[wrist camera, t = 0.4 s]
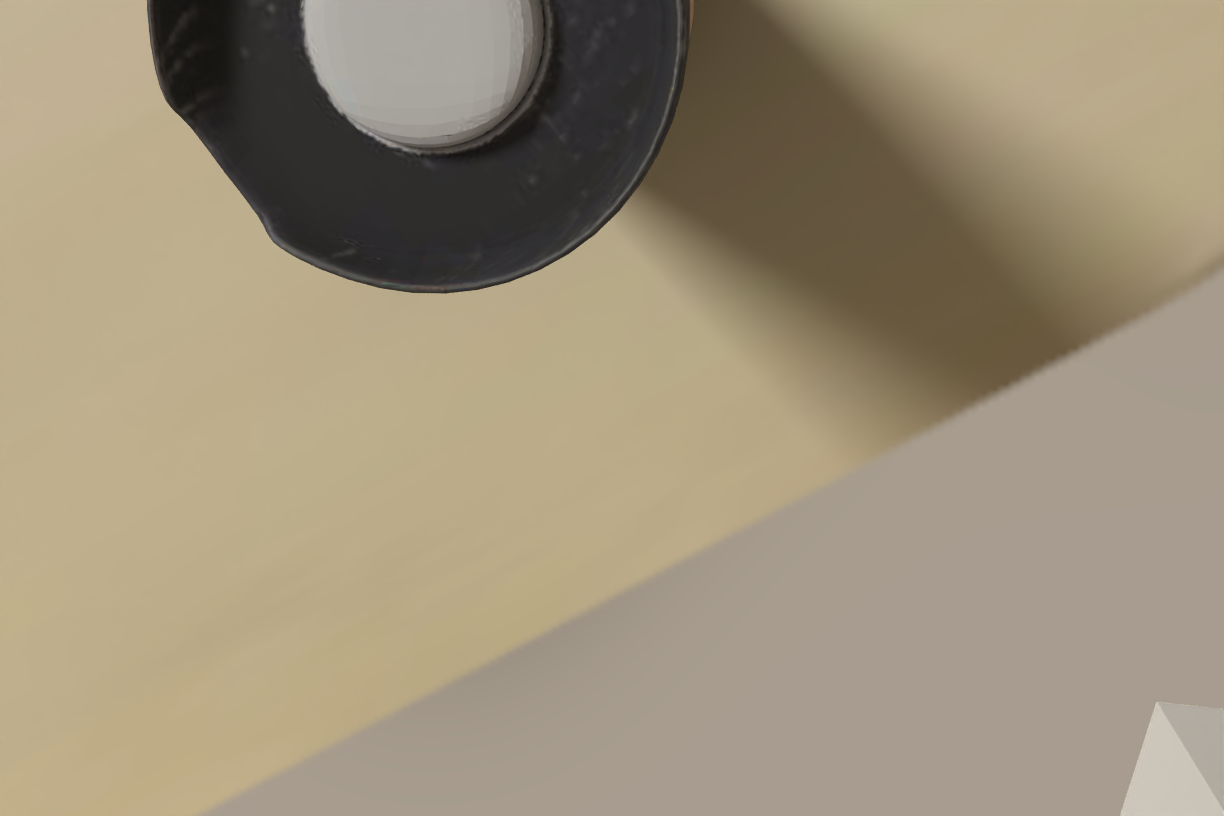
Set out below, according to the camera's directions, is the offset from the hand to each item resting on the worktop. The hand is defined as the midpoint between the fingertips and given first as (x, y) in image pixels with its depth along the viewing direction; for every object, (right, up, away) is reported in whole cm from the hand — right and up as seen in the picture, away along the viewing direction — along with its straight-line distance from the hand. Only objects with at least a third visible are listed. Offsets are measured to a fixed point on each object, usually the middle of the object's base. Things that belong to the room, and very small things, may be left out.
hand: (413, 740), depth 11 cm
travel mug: (0, +15, +24) cm, 28 cm away
